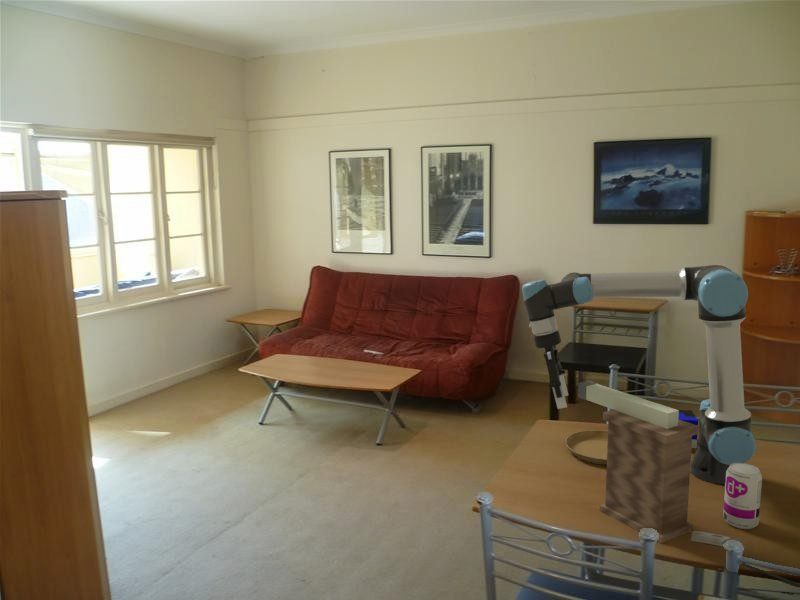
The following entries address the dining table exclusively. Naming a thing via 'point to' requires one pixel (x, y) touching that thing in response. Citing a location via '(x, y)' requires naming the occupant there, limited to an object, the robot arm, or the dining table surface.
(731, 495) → the supplement can
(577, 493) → the dining table surface
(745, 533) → the dining table surface
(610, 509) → the stand
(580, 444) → the plant saucer
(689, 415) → the puzzle toy
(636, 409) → the bar
